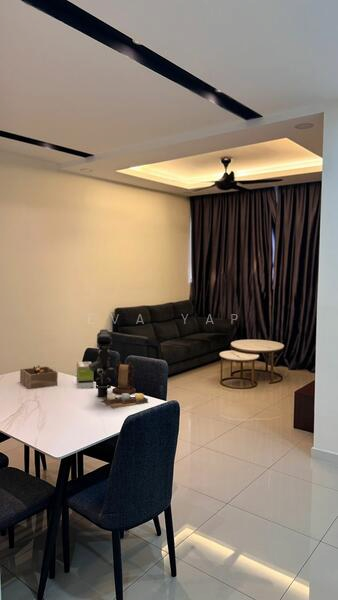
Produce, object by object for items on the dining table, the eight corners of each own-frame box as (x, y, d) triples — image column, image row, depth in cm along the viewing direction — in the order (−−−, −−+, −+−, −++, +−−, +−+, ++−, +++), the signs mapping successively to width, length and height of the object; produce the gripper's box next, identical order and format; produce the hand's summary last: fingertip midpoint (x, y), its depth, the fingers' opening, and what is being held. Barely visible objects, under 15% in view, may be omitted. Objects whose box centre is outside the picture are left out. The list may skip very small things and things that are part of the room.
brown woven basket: (108, 395, 255) (109, 363, 254) (117, 389, 270) (118, 359, 269) (131, 398, 252) (132, 365, 251) (138, 391, 266) (139, 360, 265)
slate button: (119, 400, 240) (119, 393, 240) (126, 399, 243) (127, 392, 242) (123, 402, 236) (124, 395, 236) (131, 401, 239) (131, 394, 239)
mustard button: (133, 400, 241) (133, 393, 240) (140, 399, 244) (140, 392, 243) (138, 402, 237) (138, 395, 237) (145, 401, 240) (145, 394, 239)
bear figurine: (34, 388, 268) (34, 369, 267) (27, 382, 280) (27, 364, 280) (54, 385, 276) (55, 367, 275) (47, 380, 288) (47, 363, 287)
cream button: (105, 401, 239) (105, 393, 239) (112, 399, 242) (113, 392, 242) (109, 403, 235) (109, 395, 235) (116, 401, 238) (117, 394, 238)
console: (100, 403, 239) (100, 397, 239) (134, 397, 252) (134, 392, 252) (113, 410, 226) (113, 404, 226) (148, 404, 239) (149, 398, 239)
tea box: (76, 383, 283) (76, 361, 282) (90, 382, 286) (91, 361, 285) (78, 388, 269) (78, 366, 268) (93, 388, 272) (94, 365, 271)
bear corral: (20, 382, 280) (20, 369, 279) (47, 379, 291) (47, 366, 290) (29, 389, 264) (29, 375, 263) (57, 385, 275) (57, 372, 274)
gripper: (83, 355, 238) (82, 382, 239) (98, 360, 223) (97, 389, 224) (101, 353, 244) (100, 379, 245) (116, 359, 229) (115, 387, 230)
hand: (103, 383), depth 236 cm, fingers closed
